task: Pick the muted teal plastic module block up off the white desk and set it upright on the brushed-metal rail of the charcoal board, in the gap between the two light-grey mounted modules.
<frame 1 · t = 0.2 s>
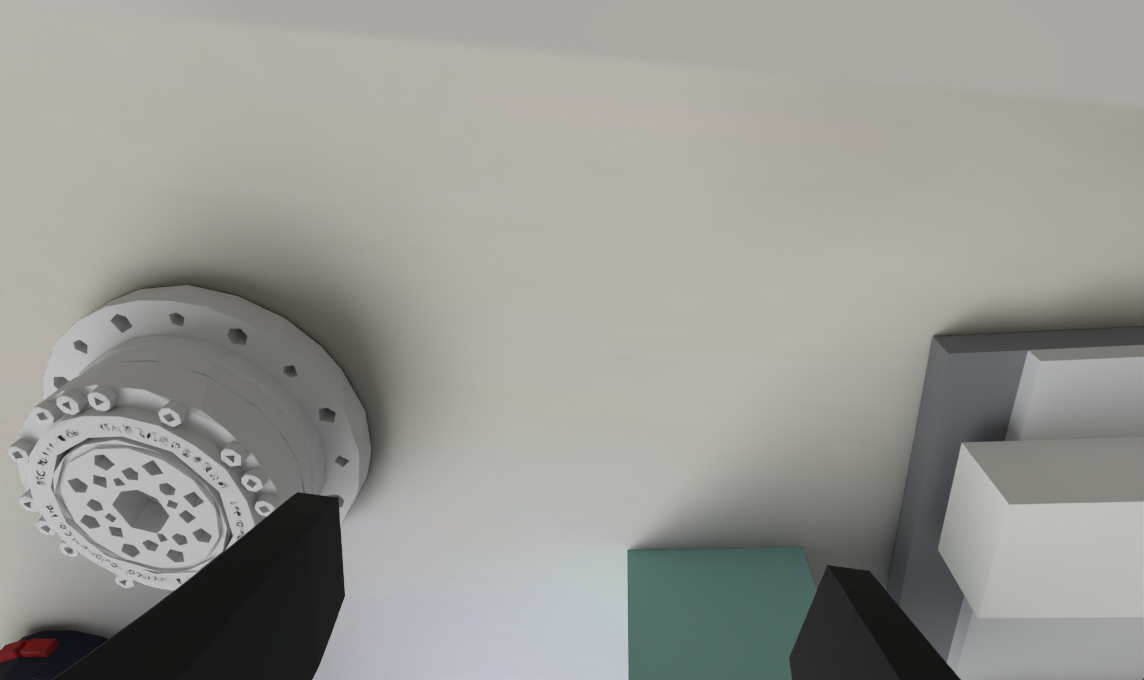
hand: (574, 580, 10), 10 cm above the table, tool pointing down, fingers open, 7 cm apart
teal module: (713, 589, 24), on the table
mechanical component: (231, 415, 22), on the table
rail board: (1038, 587, 22), on the table
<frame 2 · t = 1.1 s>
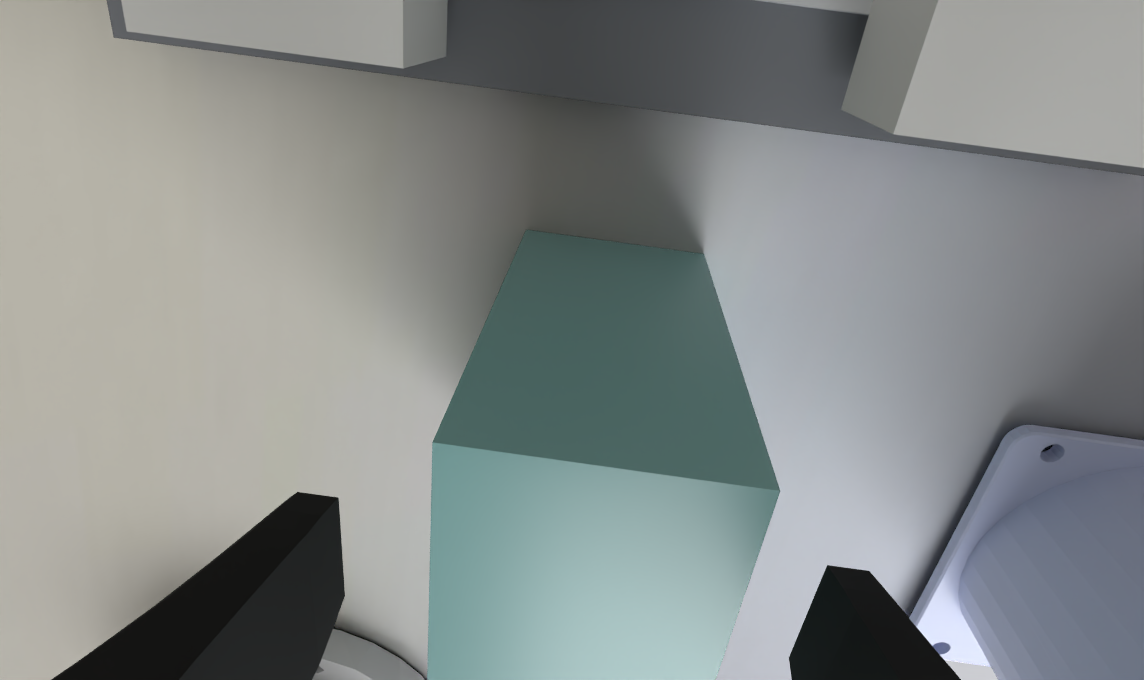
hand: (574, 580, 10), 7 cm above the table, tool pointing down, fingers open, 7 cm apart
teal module: (596, 358, 16), on the table
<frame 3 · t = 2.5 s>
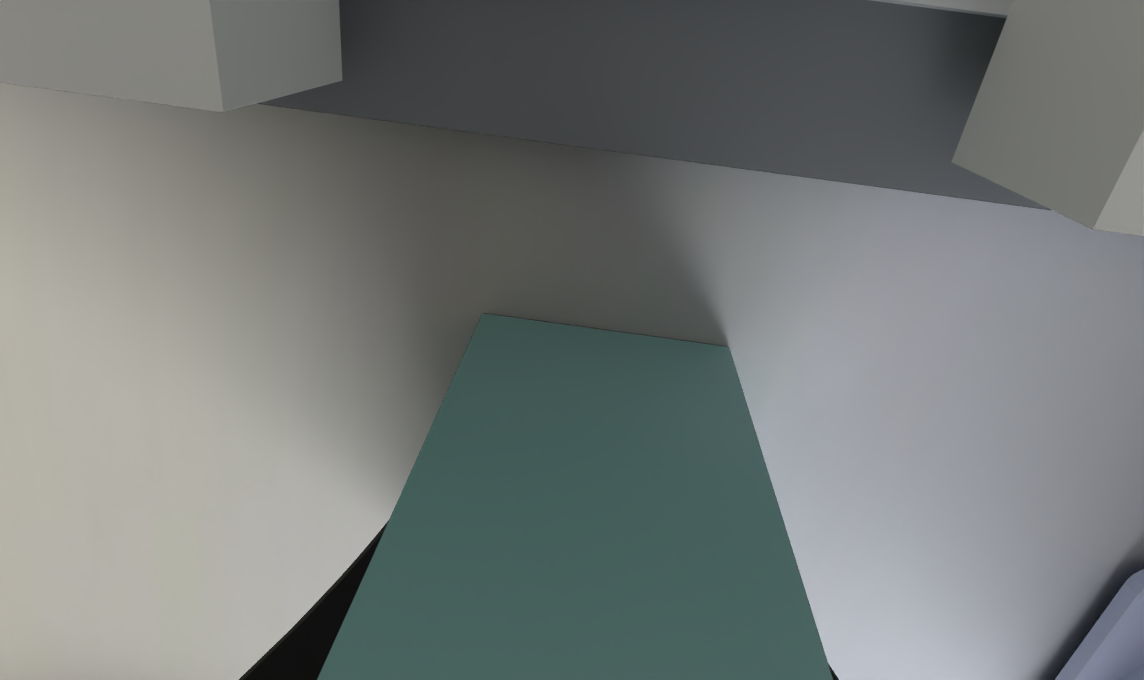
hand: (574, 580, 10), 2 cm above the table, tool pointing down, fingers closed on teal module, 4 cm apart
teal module: (582, 475, 12), on the table, touching gripper
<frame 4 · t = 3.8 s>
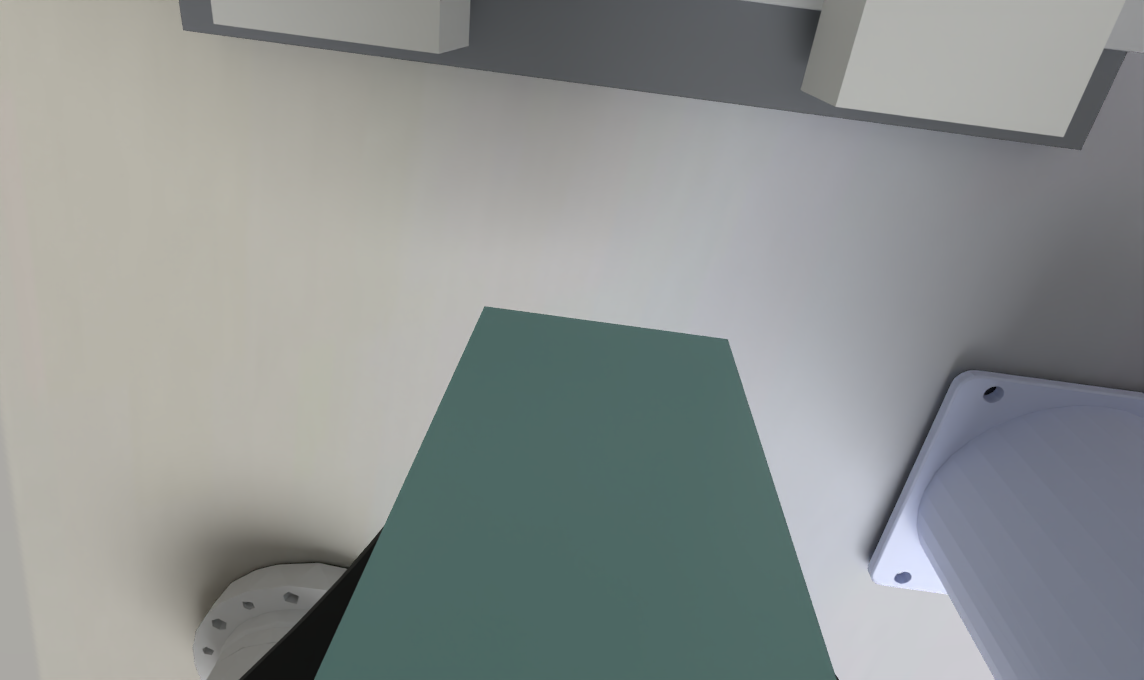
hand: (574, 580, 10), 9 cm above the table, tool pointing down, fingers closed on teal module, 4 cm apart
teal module: (583, 468, 12), point 7 cm above the table, touching gripper
mechanical component: (340, 643, 26), on the table
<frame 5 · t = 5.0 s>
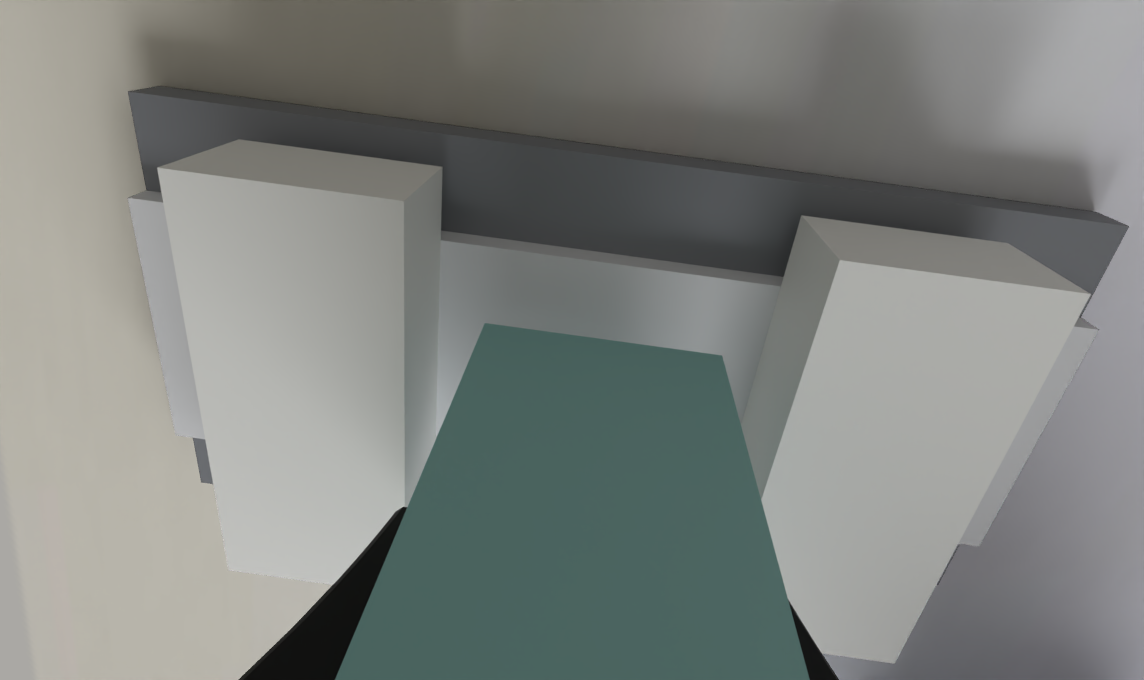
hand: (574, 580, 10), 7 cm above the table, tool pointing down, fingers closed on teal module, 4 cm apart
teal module: (581, 477, 12), point 4 cm above the table, touching gripper
rail board: (594, 354, 16), on the table
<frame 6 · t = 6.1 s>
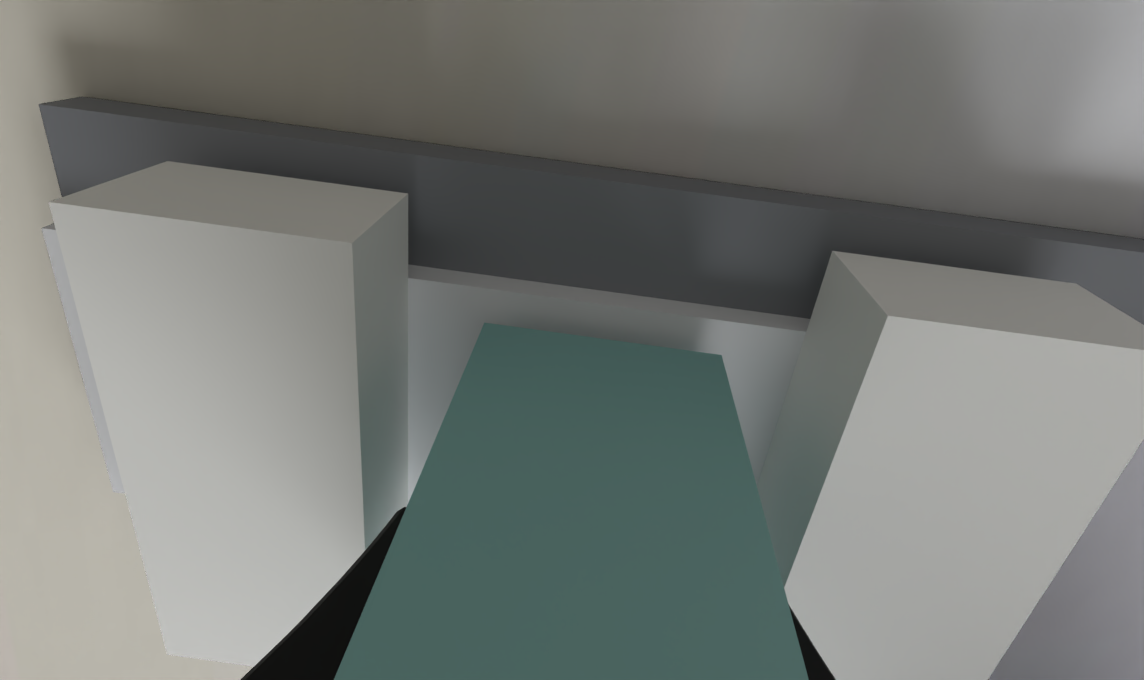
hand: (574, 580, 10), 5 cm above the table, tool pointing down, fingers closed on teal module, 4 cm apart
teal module: (580, 477, 12), point 2 cm above the table, touching gripper
rail board: (588, 399, 14), on the table
when the fingers open (5 cm above the table, at t = 6.2 s): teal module stays where it is, resting on rail board.
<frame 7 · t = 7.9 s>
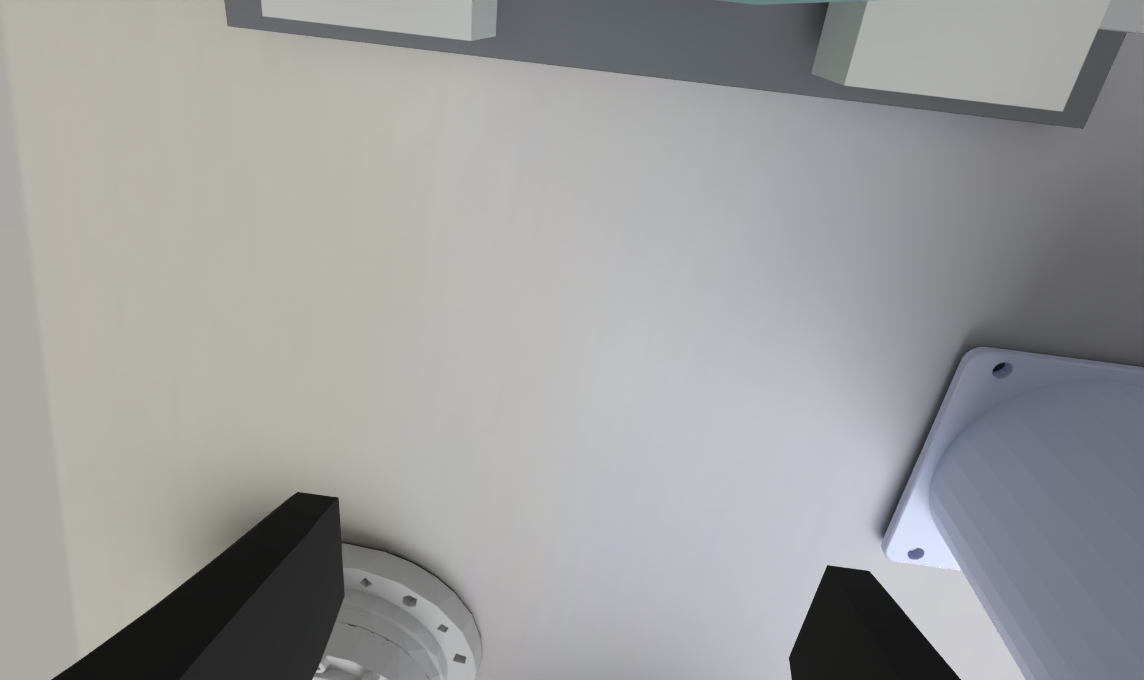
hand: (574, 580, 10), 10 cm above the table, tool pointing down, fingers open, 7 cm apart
mechanical component: (364, 624, 27), on the table
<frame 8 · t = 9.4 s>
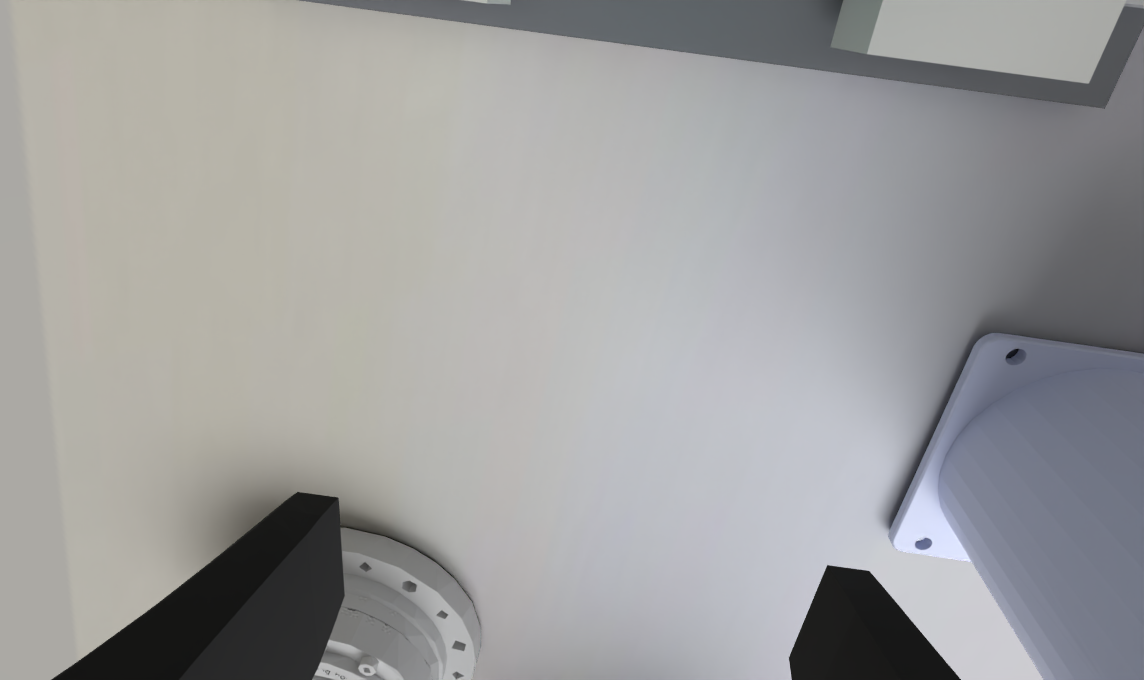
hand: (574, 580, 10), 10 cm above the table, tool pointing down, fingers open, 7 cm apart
mechanical component: (363, 610, 27), on the table
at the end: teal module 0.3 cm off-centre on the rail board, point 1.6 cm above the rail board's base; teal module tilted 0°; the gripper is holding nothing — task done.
